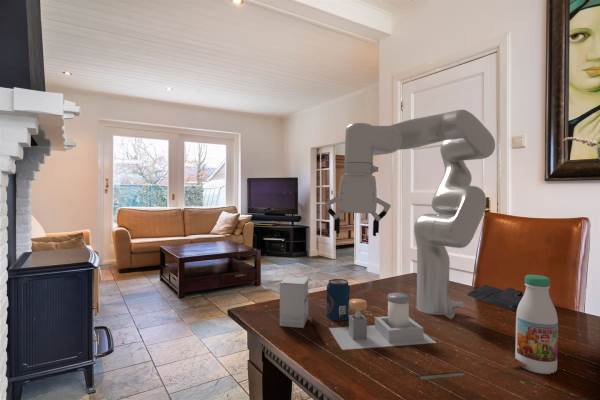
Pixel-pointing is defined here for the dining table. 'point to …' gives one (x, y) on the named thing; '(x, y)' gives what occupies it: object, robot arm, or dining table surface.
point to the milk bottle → (537, 327)
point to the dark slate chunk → (498, 296)
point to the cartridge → (398, 310)
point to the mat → (441, 375)
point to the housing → (378, 334)
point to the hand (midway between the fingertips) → (356, 234)
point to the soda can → (338, 300)
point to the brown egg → (357, 306)
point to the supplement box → (294, 302)
